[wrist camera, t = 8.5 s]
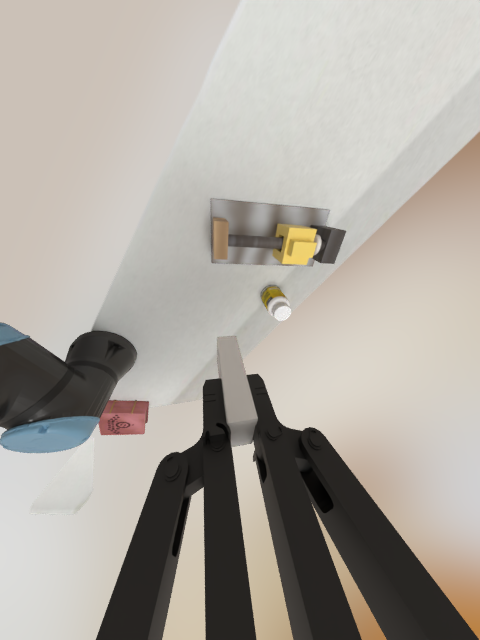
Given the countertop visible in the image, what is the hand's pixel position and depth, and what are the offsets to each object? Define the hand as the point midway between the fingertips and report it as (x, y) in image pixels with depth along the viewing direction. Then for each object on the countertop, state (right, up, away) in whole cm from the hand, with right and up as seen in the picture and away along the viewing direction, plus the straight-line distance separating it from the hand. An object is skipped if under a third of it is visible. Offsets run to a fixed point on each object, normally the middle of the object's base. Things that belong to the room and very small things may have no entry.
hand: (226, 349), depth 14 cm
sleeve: (+11, +19, +21) cm, 30 cm away
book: (-42, -32, +52) cm, 74 cm away
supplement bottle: (+9, +9, +33) cm, 35 cm away
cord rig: (+7, +21, +24) cm, 33 cm away
